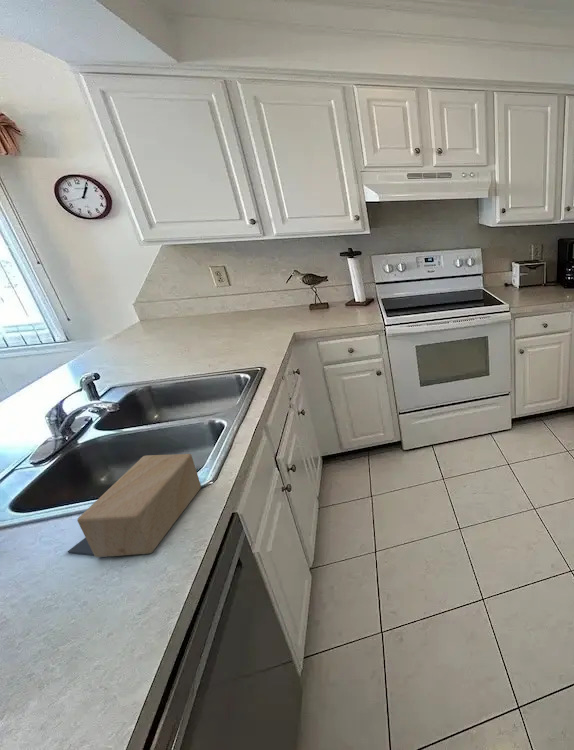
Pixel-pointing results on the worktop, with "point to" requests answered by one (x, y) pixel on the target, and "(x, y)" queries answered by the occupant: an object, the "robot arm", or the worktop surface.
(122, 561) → the worktop surface
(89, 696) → the worktop surface
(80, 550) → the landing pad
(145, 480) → the wooden block
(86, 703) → the worktop surface
